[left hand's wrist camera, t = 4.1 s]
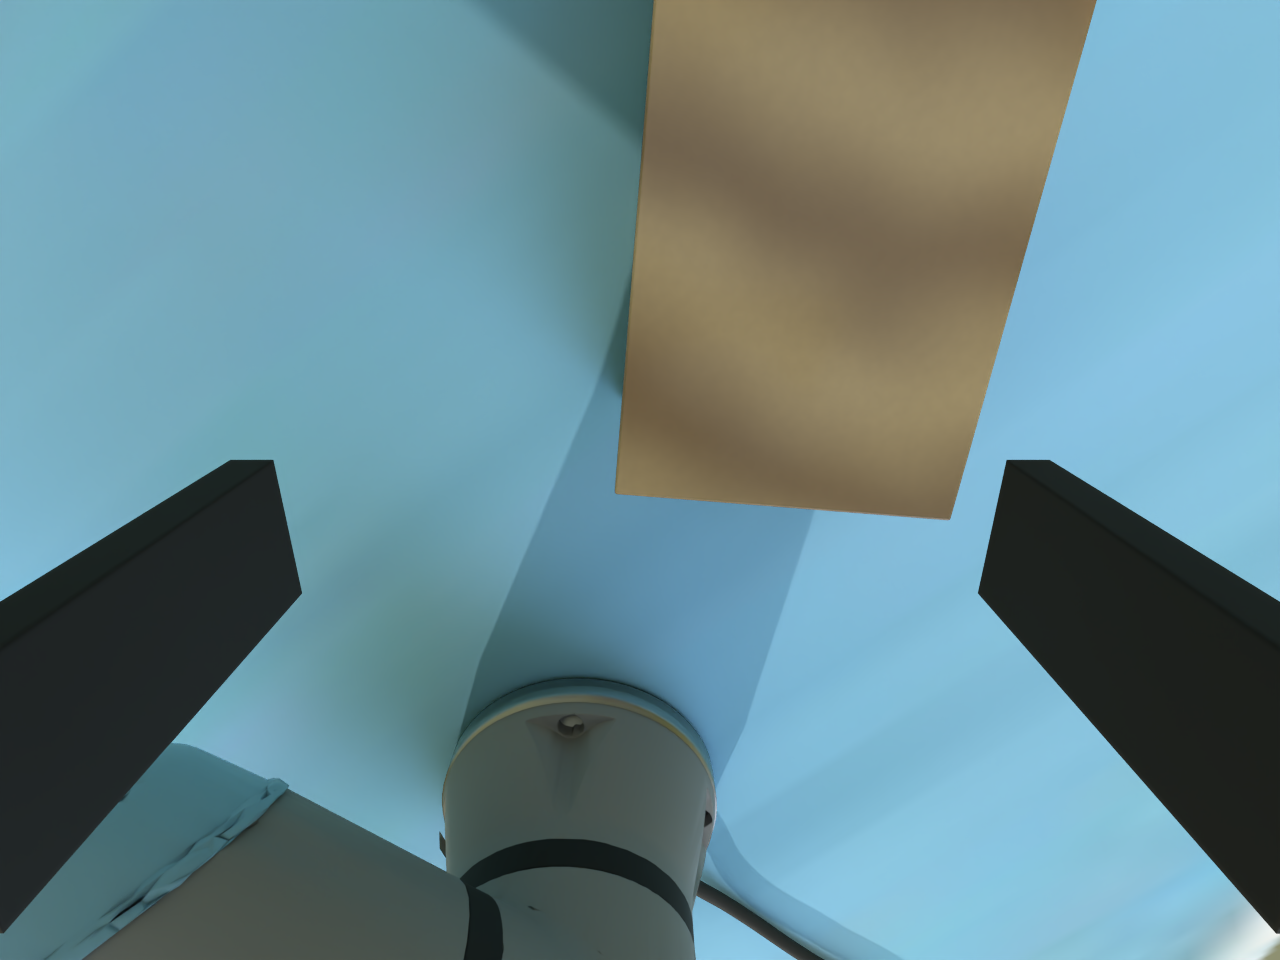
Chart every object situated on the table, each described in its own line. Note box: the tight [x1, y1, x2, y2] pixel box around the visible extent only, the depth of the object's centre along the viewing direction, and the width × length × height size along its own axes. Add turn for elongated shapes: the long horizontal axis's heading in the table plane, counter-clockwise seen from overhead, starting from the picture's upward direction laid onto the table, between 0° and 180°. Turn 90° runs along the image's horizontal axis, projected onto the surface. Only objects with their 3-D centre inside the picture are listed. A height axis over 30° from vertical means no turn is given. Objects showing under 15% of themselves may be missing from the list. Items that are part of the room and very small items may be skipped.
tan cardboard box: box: [615, 0, 1097, 520], centre depth 23 cm, size 18×10×11 cm, turn 175°
